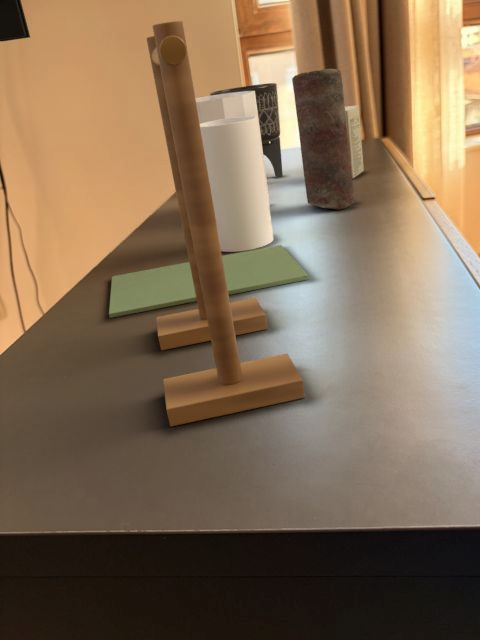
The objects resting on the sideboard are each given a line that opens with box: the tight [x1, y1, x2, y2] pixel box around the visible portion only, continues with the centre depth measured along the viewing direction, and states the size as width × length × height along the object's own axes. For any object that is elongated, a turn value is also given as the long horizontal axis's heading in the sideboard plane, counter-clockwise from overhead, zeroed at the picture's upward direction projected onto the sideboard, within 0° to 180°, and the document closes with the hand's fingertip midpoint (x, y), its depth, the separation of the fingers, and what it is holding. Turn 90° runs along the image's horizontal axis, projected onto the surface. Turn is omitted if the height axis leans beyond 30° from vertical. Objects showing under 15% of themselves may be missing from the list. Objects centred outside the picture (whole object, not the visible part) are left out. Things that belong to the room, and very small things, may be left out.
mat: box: [108, 244, 310, 319], centre depth 76 cm, size 14×22×1 cm, turn 101°
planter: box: [209, 82, 283, 178], centre depth 126 cm, size 13×13×18 cm
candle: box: [291, 68, 355, 211], centre depth 97 cm, size 8×7×20 cm
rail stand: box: [146, 20, 306, 427], centre depth 50 cm, size 19×10×26 cm, turn 11°
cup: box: [200, 116, 274, 253], centre depth 85 cm, size 8×8×16 cm
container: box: [195, 91, 271, 207], centre depth 104 cm, size 14×14×18 cm
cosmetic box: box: [344, 104, 365, 179], centre depth 119 cm, size 6×4×12 cm
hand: (12, 38), depth 59 cm, fingers closed on hanger, 2 cm apart
